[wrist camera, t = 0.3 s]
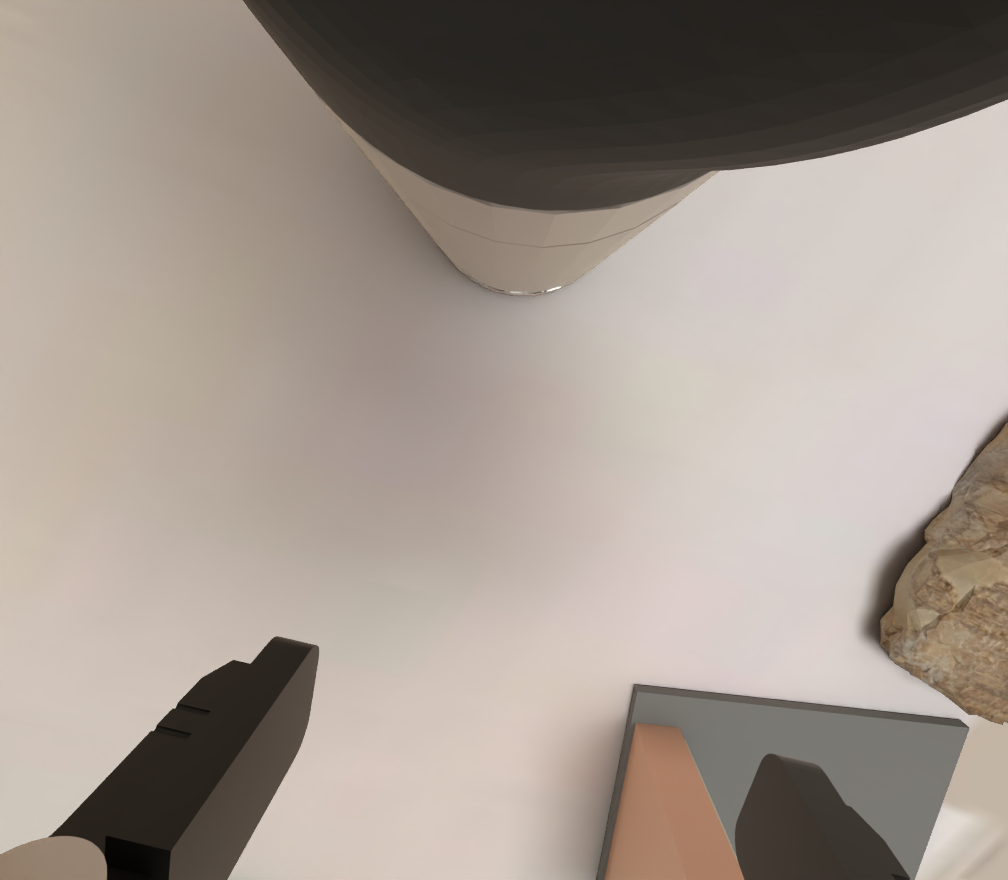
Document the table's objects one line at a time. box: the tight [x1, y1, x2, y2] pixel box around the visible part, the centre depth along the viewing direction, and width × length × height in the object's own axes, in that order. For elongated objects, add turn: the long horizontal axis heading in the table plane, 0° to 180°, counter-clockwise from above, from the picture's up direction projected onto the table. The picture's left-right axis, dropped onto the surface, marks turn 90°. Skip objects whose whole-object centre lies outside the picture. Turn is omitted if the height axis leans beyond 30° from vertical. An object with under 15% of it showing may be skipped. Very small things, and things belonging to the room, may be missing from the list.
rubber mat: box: [596, 685, 969, 880], centre depth 30 cm, size 16×19×1 cm
